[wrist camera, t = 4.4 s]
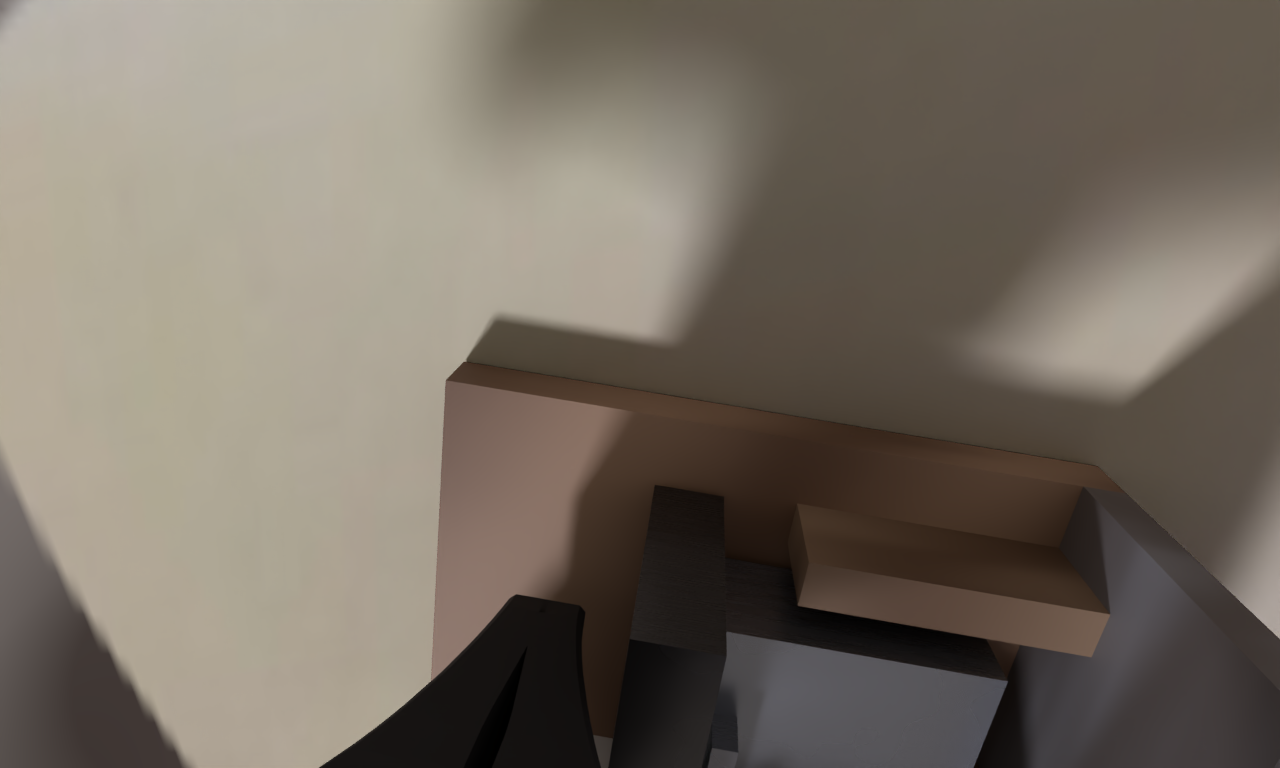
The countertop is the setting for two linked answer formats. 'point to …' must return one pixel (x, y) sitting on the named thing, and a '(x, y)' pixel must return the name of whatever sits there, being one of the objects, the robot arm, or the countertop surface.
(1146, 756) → the miniature room diorama
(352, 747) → the robot arm
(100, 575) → the countertop surface
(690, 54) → the countertop surface
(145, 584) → the countertop surface
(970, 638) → the dark grey angled block
